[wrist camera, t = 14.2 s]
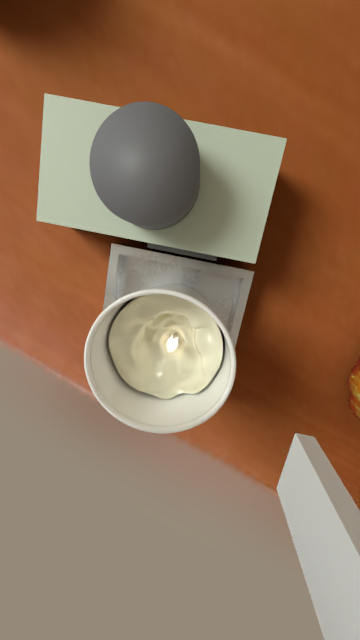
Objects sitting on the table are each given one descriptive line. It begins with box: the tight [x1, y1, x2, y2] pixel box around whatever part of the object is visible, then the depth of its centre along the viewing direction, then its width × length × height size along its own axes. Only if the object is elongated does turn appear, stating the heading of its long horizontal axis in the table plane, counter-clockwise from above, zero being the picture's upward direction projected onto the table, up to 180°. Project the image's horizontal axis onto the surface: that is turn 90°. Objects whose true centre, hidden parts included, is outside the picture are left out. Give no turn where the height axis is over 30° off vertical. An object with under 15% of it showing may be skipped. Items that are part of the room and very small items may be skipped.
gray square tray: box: [103, 243, 254, 348], centre depth 29 cm, size 14×14×2 cm
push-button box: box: [37, 93, 287, 264], centre depth 22 cm, size 18×9×10 cm, turn 79°
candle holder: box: [84, 283, 236, 433], centre depth 24 cm, size 10×10×12 cm
